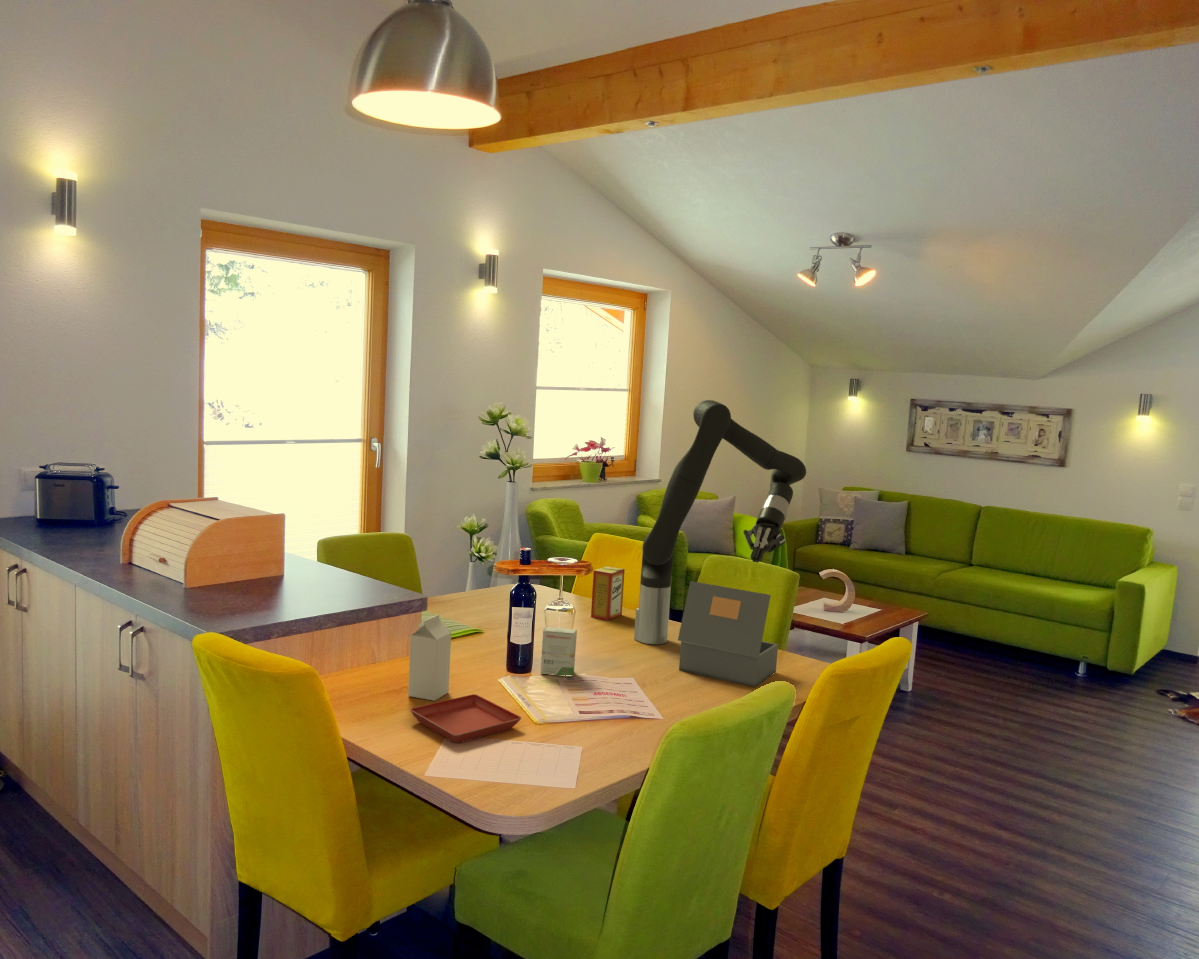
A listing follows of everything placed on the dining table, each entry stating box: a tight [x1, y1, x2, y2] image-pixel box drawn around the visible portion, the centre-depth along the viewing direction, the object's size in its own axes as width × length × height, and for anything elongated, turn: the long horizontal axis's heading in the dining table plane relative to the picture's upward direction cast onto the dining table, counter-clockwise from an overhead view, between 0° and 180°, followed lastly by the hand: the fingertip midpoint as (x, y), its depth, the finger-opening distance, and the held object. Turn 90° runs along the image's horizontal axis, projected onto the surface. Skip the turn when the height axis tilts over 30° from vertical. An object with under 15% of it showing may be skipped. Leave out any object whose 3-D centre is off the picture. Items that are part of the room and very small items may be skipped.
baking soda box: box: [590, 565, 625, 621], centre depth 307 cm, size 10×6×16 cm
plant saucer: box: [409, 693, 522, 744], centre depth 205 cm, size 18×18×3 cm
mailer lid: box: [677, 580, 771, 657], centre depth 248 cm, size 23×16×1 cm
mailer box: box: [678, 640, 779, 688], centre depth 255 cm, size 22×16×8 cm
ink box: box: [540, 626, 578, 676], centre depth 244 cm, size 9×5×12 cm, turn 84°
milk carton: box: [407, 613, 452, 702], centre depth 222 cm, size 7×7×19 cm
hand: (755, 560), depth 265 cm, fingers closed
